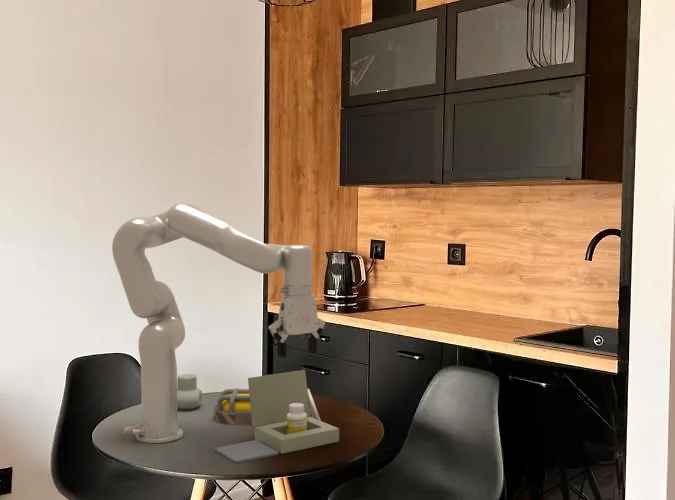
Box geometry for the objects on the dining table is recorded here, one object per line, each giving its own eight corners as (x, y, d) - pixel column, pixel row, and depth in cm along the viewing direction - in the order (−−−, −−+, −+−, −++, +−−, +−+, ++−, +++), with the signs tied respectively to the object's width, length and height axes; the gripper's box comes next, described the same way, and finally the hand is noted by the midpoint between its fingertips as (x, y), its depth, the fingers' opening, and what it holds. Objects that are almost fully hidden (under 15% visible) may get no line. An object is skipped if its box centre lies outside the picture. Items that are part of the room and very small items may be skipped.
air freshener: (197, 412, 226) (197, 379, 226) (170, 412, 226) (170, 379, 226) (202, 402, 237) (202, 372, 237) (177, 403, 237) (176, 372, 237)
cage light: (217, 386, 227) (315, 386, 228) (217, 412, 228) (314, 412, 228) (210, 398, 213) (314, 398, 213) (210, 425, 213) (314, 426, 213)
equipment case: (281, 453, 188) (282, 390, 187) (247, 436, 202) (247, 377, 201) (342, 440, 199) (342, 380, 198) (305, 424, 213) (306, 368, 213)
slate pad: (236, 463, 180) (236, 461, 180) (214, 450, 190) (214, 448, 190) (278, 454, 187) (278, 452, 187) (255, 442, 197) (255, 440, 197)
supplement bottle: (289, 437, 202) (289, 401, 201) (308, 438, 201) (308, 402, 201) (284, 443, 197) (284, 406, 196) (304, 444, 196) (304, 407, 195)
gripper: (277, 294, 189) (277, 360, 190) (332, 290, 199) (331, 353, 200) (262, 291, 195) (262, 356, 196) (316, 288, 205) (316, 349, 206)
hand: (297, 354), depth 198 cm, fingers open, 9 cm apart
